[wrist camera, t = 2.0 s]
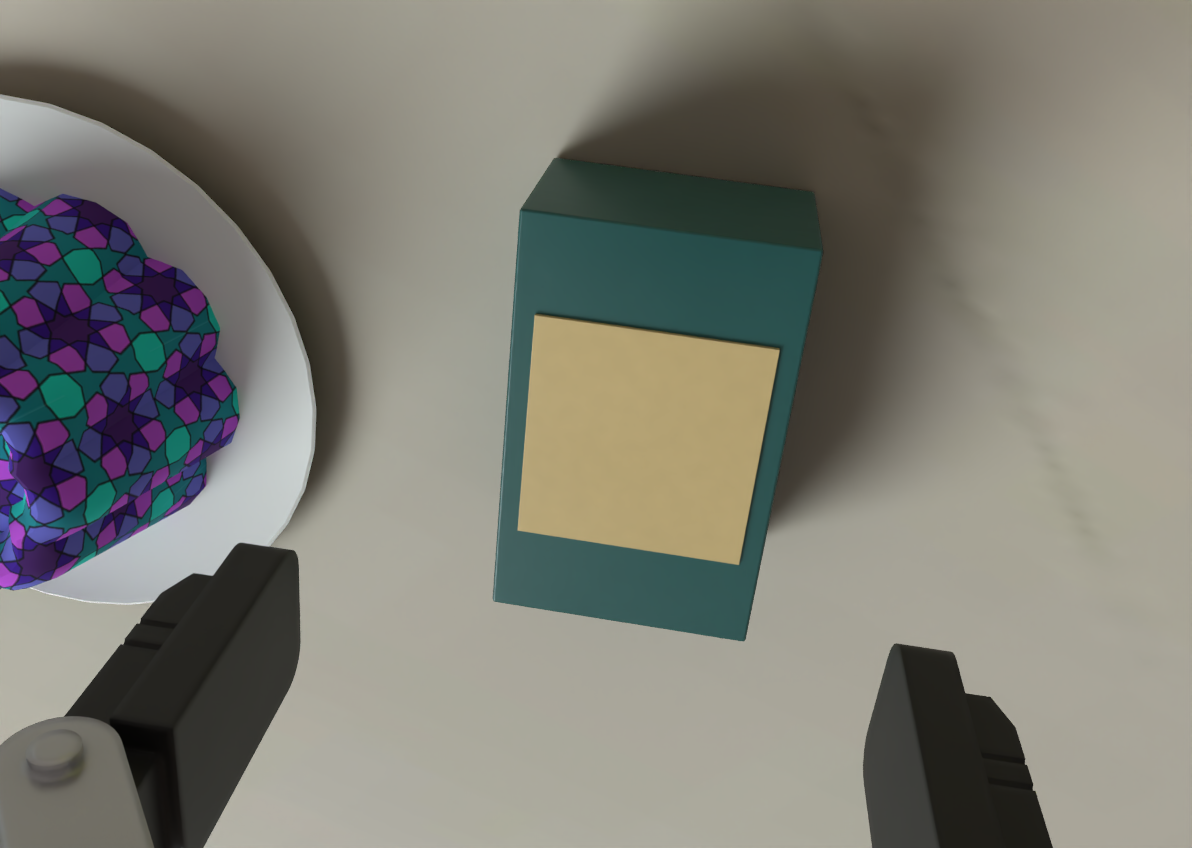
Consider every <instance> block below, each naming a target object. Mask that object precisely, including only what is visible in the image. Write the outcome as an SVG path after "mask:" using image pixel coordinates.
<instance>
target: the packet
mask: <svg viewBox="0 0 1192 848" xmlns="http://www.w3.org/2000/svg"><path fill="white" fill-rule="evenodd" d="M822 256H823V246H822V240H821V233H820V227H819V220H818V214H817V207H816V200H815V194H814V192H810V191H802V190H795V189H787V188H780V187H772V186H765V185H757V184H750V183H742V182H734V181H727V180H719V179H712V178H704V177H697V176H689V175H682V174H674V173H666V172H659V171H651V170H644V169H636V168H629V167H621V166H614V165H606V164H599V163H591V162H583V161H576V160H568V159H561V158H554V159H553V161H552V162H551V164H550V165H549V167H548V168H547V170H546V171H545V173H544V174H543V176H542V178H541V179H540V181H539V182H538V184H537V185H536V187H535V188H534V190H533V191H532V193H531V194H530V196H529V197H528V199H527V200H526V202H525V203H524V205H523V206H522V208H521V210H520V215H519V230H518V244H517V258H516V273H515V287H514V301H513V316H512V330H511V345H510V359H509V373H508V388H507V402H506V416H505V431H504V445H503V459H502V474H501V488H500V503H499V517H498V531H497V546H496V560H495V574H494V589H493V601H495V602H501V603H507V604H513V605H519V606H525V607H532V608H538V609H544V610H550V611H557V612H563V613H569V614H575V615H582V616H588V617H594V618H600V619H607V620H613V621H619V622H625V623H631V624H638V625H644V626H650V627H656V628H663V629H669V630H675V631H681V632H688V633H694V634H700V635H706V636H713V637H719V638H725V639H731V640H738V641H745V639H746V634H747V629H748V624H749V619H750V614H751V610H752V605H753V600H754V595H755V590H756V585H757V580H758V575H759V570H760V565H761V560H762V555H763V550H764V545H765V540H766V535H767V530H768V525H769V520H770V515H771V510H772V505H773V500H774V495H775V490H776V485H777V480H778V475H779V470H780V465H781V460H782V455H783V450H784V445H785V440H786V435H787V431H788V426H789V421H790V416H791V411H792V406H793V401H794V396H795V391H796V386H797V381H798V376H799V371H800V366H801V361H802V356H803V351H804V346H805V341H806V336H807V331H808V326H809V321H810V316H811V311H812V306H813V301H814V296H815V291H816V286H817V281H818V276H819V271H820V266H821V261H822Z"/></svg>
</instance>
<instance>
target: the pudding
mask: <svg viewBox="0 0 1192 848" xmlns="http://www.w3.org/2000/svg"><path fill="white" fill-rule="evenodd" d="M315 431H316V402H315V396H314V389H313V382H312V376H311V369H310V363H309V360H308V357H307V354H306V351H305V348H304V345H303V342H302V339H301V336H300V333H299V330H298V327H297V324H296V321H295V318H294V315H293V313H292V311H291V310H290V308H289V306H288V304H287V302H286V300H285V298H284V296H283V294H282V292H281V290H280V288H279V286H278V285H277V283H276V281H275V279H274V277H273V275H272V273H271V271H270V269H269V268H268V267H267V265H266V264H265V263H264V261H263V260H262V259H261V257H260V256H259V254H258V253H257V252H256V250H255V249H254V248H253V246H252V245H251V243H250V242H249V241H248V239H247V238H246V237H245V235H244V234H243V232H242V231H241V230H240V228H239V227H238V226H237V225H236V224H235V223H234V222H233V221H232V220H231V219H230V218H229V217H228V216H227V214H226V213H225V212H224V211H223V210H222V209H221V208H220V207H219V206H218V205H217V204H216V203H215V202H214V201H213V200H212V199H211V198H210V197H209V196H208V195H207V194H206V193H205V192H204V191H203V190H202V189H201V188H200V187H199V186H198V185H197V184H196V183H194V182H193V181H192V180H190V179H189V178H188V177H186V176H185V175H184V174H182V173H181V172H180V171H178V170H177V169H176V168H175V167H173V166H172V165H171V164H169V163H168V162H167V161H165V160H164V159H163V158H161V157H160V156H159V155H158V154H156V153H155V152H154V151H152V150H150V149H149V148H147V147H145V146H143V145H141V144H140V143H138V142H136V141H134V140H132V139H131V138H129V137H127V136H125V135H123V134H122V133H120V132H118V131H116V130H114V129H113V128H111V127H109V126H107V125H105V124H103V123H101V122H99V121H96V120H93V119H90V118H88V117H85V116H82V115H79V114H77V113H74V112H71V111H69V110H66V109H63V108H60V107H58V106H55V105H52V104H49V103H43V102H38V101H33V100H27V99H22V98H17V97H11V96H6V95H1V94H0V589H1V588H4V589H9V590H19V589H25V588H31V589H34V590H37V591H40V592H42V593H45V594H50V595H55V596H59V597H64V598H69V599H74V600H79V601H84V602H91V603H108V604H124V605H131V604H141V603H152V602H154V601H155V600H156V599H157V597H158V596H159V595H160V594H161V593H162V592H163V591H165V590H167V589H168V588H170V587H172V586H173V585H175V584H176V583H178V582H180V581H181V580H183V579H184V578H186V577H188V576H189V575H191V574H193V573H197V574H204V575H210V576H213V575H214V574H215V572H216V571H217V569H218V568H219V567H220V565H221V564H222V563H223V561H224V560H225V558H226V557H227V556H228V554H229V553H230V552H231V550H232V549H233V548H234V546H235V545H237V544H238V543H240V542H241V543H248V544H255V545H261V546H268V547H270V545H271V544H272V543H273V542H274V541H275V539H276V538H277V537H278V536H279V534H280V533H281V532H282V531H283V529H284V528H285V527H286V526H287V525H288V523H289V521H290V519H291V517H292V515H293V513H294V511H295V509H296V507H297V505H298V503H299V501H300V499H301V497H302V495H303V493H304V491H305V488H306V484H307V480H308V476H309V472H310V468H311V464H312V460H313V456H314V452H315Z"/></svg>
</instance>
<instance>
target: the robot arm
mask: <svg viewBox="0 0 1192 848" xmlns="http://www.w3.org/2000/svg"><path fill="white" fill-rule="evenodd" d="M299 652H300V602H299V565H298V557H297V554H296V552H295V551H294V550H288V549H281V548H274V547H268V546H261V545H255V544H248V543H241V542H240V543H238V544H237V545H235V546H234V548H233V549H232V550H231V552H230V553H229V554H228V556H227V557H226V558H225V560H224V561H223V563H222V564H221V565H220V567H219V568H218V569H217V571H216V572H215V574H214V575H213V576H210V575H204V574H197V573H193V574H191V575H189V576H188V577H186V578H184V579H183V580H181V581H180V582H178V583H176V584H175V585H173V586H172V587H170V588H168V589H167V590H165V591H163V592H162V593H161V594H160V595H159V596H158V597H157V599H156V600H155V601H154V603H153V604H152V605H151V606H150V608H149V609H148V610H147V611H146V613H145V614H144V615H143V617H142V618H141V622H140V624H136V626H135V627H134V628H133V629H132V631H131V632H130V633H129V634H128V636H127V637H126V638H125V642H124V645H120V646H119V647H118V649H117V650H116V651H115V652H114V654H113V655H112V656H111V657H110V659H109V660H108V661H107V663H106V664H105V665H104V666H103V668H102V669H101V670H100V672H99V673H98V674H97V675H96V677H95V678H94V679H93V680H92V682H91V683H90V684H89V686H88V687H87V688H86V689H85V691H84V692H83V693H82V695H81V696H80V697H79V698H78V700H77V701H76V702H75V704H74V705H73V706H72V707H71V709H70V710H69V711H68V712H67V714H66V715H65V716H64V717H58V718H53V719H48V720H44V721H41V722H38V723H35V724H33V725H31V726H28V727H26V728H24V729H22V730H20V731H19V732H17V733H15V734H14V735H12V736H11V737H10V738H8V739H7V740H6V741H5V742H3V743H2V744H1V745H0V848H203V847H204V845H205V843H206V842H207V840H208V838H209V836H210V834H211V832H212V831H213V829H214V827H215V825H216V823H217V821H218V819H219V818H220V816H221V814H222V812H223V810H224V808H225V806H226V805H227V803H228V801H229V799H230V797H231V795H232V794H233V792H234V790H235V788H236V786H237V784H238V782H239V781H240V779H241V777H242V775H243V773H244V771H245V769H246V768H247V766H248V764H249V762H250V760H251V758H252V757H253V755H254V753H255V751H256V749H257V747H258V745H259V744H260V742H261V740H262V738H263V736H264V734H265V732H266V731H267V729H268V727H269V725H270V723H271V721H272V720H273V718H274V716H275V714H276V712H277V710H278V708H279V707H280V705H281V703H282V701H283V699H284V697H285V695H286V694H287V692H288V690H289V688H290V686H291V683H292V681H293V678H294V675H295V672H296V668H297V664H298V659H299ZM863 778H864V787H865V795H866V802H867V810H868V818H869V826H870V833H871V841H872V848H1053V847H1052V844H1051V840H1050V837H1049V834H1048V831H1047V828H1046V824H1045V821H1044V818H1043V815H1042V811H1041V808H1040V805H1039V802H1038V799H1037V795H1036V792H1035V791H1033V782H1032V779H1031V776H1030V773H1029V770H1028V766H1027V765H1025V757H1024V753H1023V750H1022V747H1021V744H1020V741H1019V737H1018V734H1017V731H1016V728H1015V726H1014V725H1013V724H1012V723H1011V721H1010V720H1009V719H1008V718H1007V717H1006V715H1005V714H1004V713H1003V712H1002V711H1001V709H1000V708H999V707H998V706H997V704H996V703H995V702H994V701H993V700H992V698H991V697H986V696H979V695H973V694H966V693H965V691H964V687H963V683H962V679H961V676H960V672H959V668H958V664H957V661H956V658H955V655H954V654H953V653H952V652H949V651H942V650H936V649H929V648H922V647H916V646H909V645H903V644H894V645H893V647H892V648H891V650H890V653H889V656H888V659H887V663H886V667H885V670H884V674H883V677H882V681H881V685H880V688H879V692H878V695H877V699H876V703H875V706H874V710H873V713H872V717H871V721H870V724H869V728H868V732H867V736H866V742H865V749H864V761H863Z"/></svg>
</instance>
